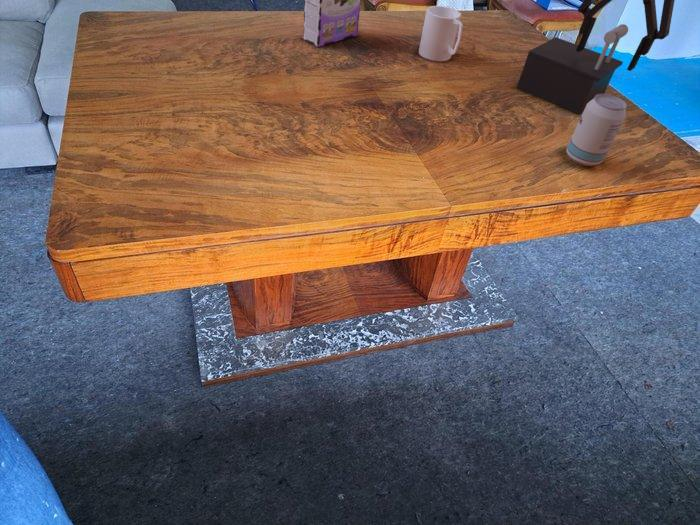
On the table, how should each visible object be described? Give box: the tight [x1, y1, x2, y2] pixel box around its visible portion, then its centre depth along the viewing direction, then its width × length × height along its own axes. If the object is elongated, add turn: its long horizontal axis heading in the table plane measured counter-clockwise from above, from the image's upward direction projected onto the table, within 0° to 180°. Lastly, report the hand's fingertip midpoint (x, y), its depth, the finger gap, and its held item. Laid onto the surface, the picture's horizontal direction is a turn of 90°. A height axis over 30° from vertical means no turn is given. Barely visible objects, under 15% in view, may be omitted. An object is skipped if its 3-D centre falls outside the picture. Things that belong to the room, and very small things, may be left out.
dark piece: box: [516, 54, 616, 115], centre depth 116 cm, size 16×14×8 cm
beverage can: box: [565, 93, 628, 167], centre depth 94 cm, size 7×7×12 cm
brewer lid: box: [527, 23, 629, 81], centre depth 110 cm, size 16×14×9 cm
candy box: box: [302, 0, 362, 48], centre depth 123 cm, size 14×6×16 cm, turn 134°
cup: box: [418, 5, 464, 62], centre depth 123 cm, size 8×12×10 cm
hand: (604, 59), depth 109 cm, fingers open, 11 cm apart
